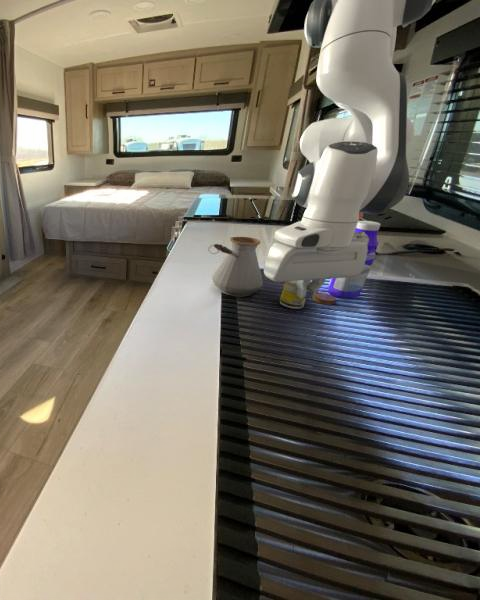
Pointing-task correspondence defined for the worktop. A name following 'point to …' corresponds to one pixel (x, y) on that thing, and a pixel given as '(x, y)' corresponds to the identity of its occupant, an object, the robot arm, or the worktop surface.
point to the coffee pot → (238, 268)
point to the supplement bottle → (292, 295)
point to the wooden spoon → (324, 298)
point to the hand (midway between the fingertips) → (304, 297)
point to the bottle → (354, 285)
